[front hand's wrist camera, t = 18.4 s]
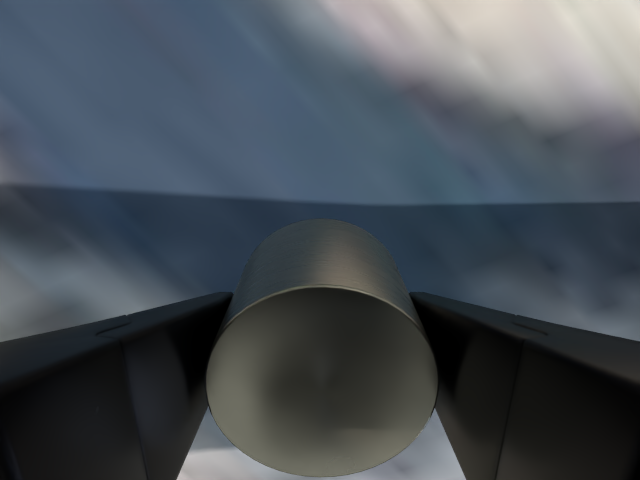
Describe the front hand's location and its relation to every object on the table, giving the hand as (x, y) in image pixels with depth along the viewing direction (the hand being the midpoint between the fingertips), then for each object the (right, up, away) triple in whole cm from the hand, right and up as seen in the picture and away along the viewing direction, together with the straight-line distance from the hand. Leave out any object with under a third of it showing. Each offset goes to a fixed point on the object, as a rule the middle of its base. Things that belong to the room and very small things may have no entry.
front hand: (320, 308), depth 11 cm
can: (0, 0, +1) cm, 1 cm away
